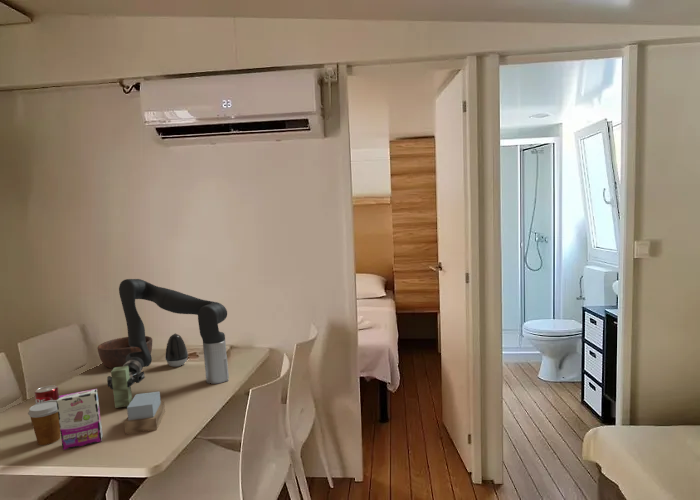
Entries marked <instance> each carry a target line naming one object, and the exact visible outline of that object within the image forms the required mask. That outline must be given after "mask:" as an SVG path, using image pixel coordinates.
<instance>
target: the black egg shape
mask: <svg viewBox="0 0 700 500" xmlns="http://www.w3.org/2000/svg"><path fill="white" fill-rule="evenodd" d="M188 357H189V353H188V349H187V346H186V343H185V341H184V339H183V337H182V336H181V335H179V334H177V333H174V334H171V335H170V336H169V338H168V340H167V343H166V347H165V357H164V358H165V361H166V363H167V364H168V366H170V367H172V368H177V367H181V365H182V366H184V365H185V364H184V363H185V362H186V363H187V361H188Z"/></svg>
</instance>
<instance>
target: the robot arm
mask: <svg viewBox="0 0 700 500" xmlns="http://www.w3.org/2000/svg"><path fill="white" fill-rule="evenodd" d="M118 292H119V294H118V295H119V298H120V302H121V306H122V310H123V314H124V318H125V322H126V327H127V329H126V330H127V337H128V342H129V346H131V347H139V348H140V349H141V350H142V351H140V352H133V353H129V354H128V355H127V356H126V363H125V364H124V365H123V366H128V367H129V376H130V379H129V380H128V381H127V387H130V386H133V385H134V384H138V383H140V382H142V381H143V380H144V379H145V377H146V376H145V372H144V371H142V370H143V369H144V368H146V367H149V366H150V365H151V364H152V360H153V357H152V353H151V354H150V352H149V349H148V347H147V344H146V338H145V336H146V330H145V325H144V322H143V320H142V317H140V314H139V312H138V309H137V307H136V300H144V301H149V302H153V303H154V304H155V305H157V306H158V307H159V308H160V309H162V310H164V311H167V312H170V313H173V314H179V315H196V316H197V321H198V330H199V335H200V337H201V339H202V348H203V358H204V369H205V371H204V372H205V382H206V383H207V384H210V383H211V385H215V384H221V383H224V382H228V381H229V379H230V377H229V365H228V356H227V347H226V334H225V332H222V331H220V329H219V324H221V323H222V322H224V321H225V320H226V318H227V317H228V310H227V308H226V306H225V305H223V304H222V303H220V302H218V301H211V300H207V299H201V298H198V297H195V296H192V295H189V294H185V293H183V292H181V291H176V290H173V289H171V288H166V287H162V286H161V287H160V286H158V285H154V284H152V283H150V282H148V281H146V280H144V279H140V278H126V279H123V280H122V281H121V282H120V284H119V286H118ZM123 366H122V367H123ZM106 381H107V387H108V388H109V389H111V390H113V385H112V376H111V375H109V376H107V379H106Z"/></svg>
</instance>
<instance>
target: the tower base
mask: <svg viewBox="0 0 700 500" xmlns="http://www.w3.org/2000/svg"><path fill="white" fill-rule="evenodd" d="M165 407H166V406H165V401H162V400H161V404H160V406H159V408H158V410H157V412H156V414H155V415H154V417H151V418H144V419H136V420H129V421H128V416H127V418H126V419H125V420H124V422H123V423H124V424H123V425H124V433H125V434H124V435H131V434H138V433H144V432H150V431H151V432H152V431H158V429H159V427H160V424H161V422H162V420H163V417H164V415H165V414H166V408H165Z"/></svg>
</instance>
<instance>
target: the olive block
mask: <svg viewBox="0 0 700 500" xmlns="http://www.w3.org/2000/svg"><path fill="white" fill-rule="evenodd" d="M110 374H111V375H110V376H111V377H112V385H113V389H112V392H113V401H114V409H116V408H122V407H124V408H125V407H128V405H129V404H130V402H131V401H132V400H133V395H132V387H131V386H132V385H131V386H130V387H127V381H128V380H129V379H130V376H129V367H128V366H123V367H115V368H112V370H111V371H110Z"/></svg>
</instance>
